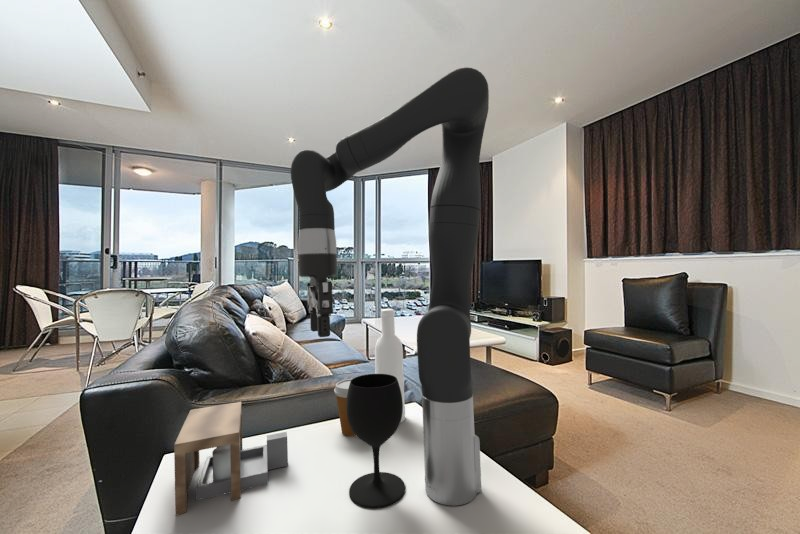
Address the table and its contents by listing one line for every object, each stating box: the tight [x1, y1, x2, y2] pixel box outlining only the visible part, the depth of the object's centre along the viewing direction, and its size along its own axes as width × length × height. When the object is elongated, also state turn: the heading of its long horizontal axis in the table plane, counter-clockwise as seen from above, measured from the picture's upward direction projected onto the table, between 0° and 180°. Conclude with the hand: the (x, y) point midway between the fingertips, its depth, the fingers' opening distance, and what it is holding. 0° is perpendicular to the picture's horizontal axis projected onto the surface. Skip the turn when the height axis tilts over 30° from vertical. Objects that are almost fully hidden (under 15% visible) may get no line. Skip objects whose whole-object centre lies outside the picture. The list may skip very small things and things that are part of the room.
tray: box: [195, 431, 289, 501], centre depth 71 cm, size 16×12×7 cm
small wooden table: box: [173, 401, 243, 516], centre depth 68 cm, size 10×17×12 cm, turn 23°
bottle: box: [374, 308, 406, 424], centre depth 95 cm, size 8×8×30 cm
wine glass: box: [346, 373, 406, 510], centre depth 64 cm, size 10×10×20 cm
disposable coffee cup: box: [333, 378, 357, 437], centre depth 89 cm, size 10×10×12 cm
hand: (319, 333), depth 69 cm, fingers open, 8 cm apart
